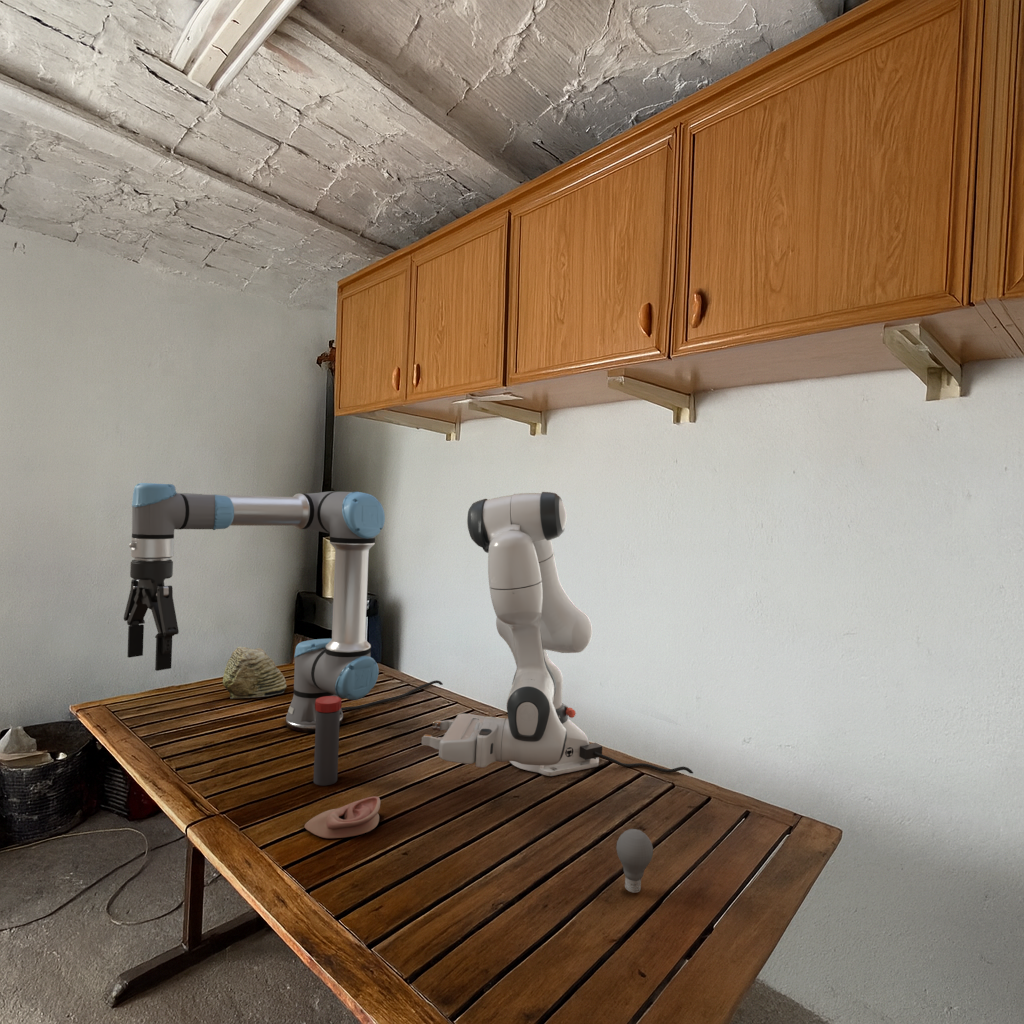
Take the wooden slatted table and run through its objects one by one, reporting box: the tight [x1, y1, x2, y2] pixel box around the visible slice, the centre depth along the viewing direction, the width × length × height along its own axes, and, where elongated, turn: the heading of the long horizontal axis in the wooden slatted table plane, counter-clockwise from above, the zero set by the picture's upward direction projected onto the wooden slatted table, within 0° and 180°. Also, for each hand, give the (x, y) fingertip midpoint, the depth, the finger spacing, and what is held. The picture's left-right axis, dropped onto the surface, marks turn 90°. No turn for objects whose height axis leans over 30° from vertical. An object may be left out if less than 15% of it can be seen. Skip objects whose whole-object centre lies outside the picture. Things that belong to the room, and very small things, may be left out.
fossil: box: [222, 646, 288, 699], centre depth 198 cm, size 9×18×15 cm, turn 132°
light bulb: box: [615, 828, 654, 894], centre depth 106 cm, size 6×6×10 cm
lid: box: [315, 696, 343, 713], centre depth 141 cm, size 6×6×2 cm
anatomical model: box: [304, 796, 381, 839], centre depth 123 cm, size 13×4×12 cm
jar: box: [312, 710, 341, 787], centre depth 141 cm, size 5×5×18 cm
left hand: (148, 662), depth 129 cm, fingers open, 13 cm apart
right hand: (427, 732), depth 138 cm, fingers open, 8 cm apart
